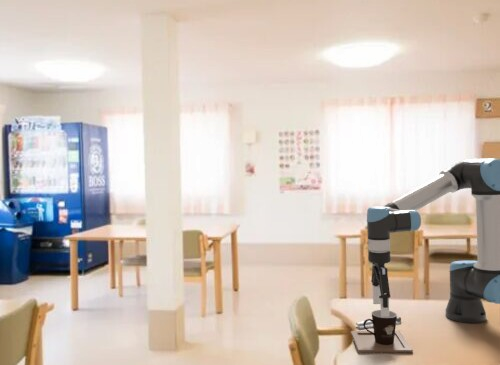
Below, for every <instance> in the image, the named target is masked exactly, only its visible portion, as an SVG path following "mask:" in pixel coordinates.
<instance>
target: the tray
mask: <svg viewBox="0 0 500 365" xmlns="http://www.w3.org/2000/svg"><path fill="white" fill-rule="evenodd" d="M370 331H371V332H373V333H374V330H370ZM350 335H351V338H352V340H353V342H354V345H355V348H356V350H357V353H358V354H390V355H391V354H396V355H397V354H399V355H401V354H407V355H408V354H413V353H414V350H413V348H412V347H411V345H410V344H409V342H408V340H406V337H404V334H402V331H401V330H395V336H394V343H393V344H391V345H381V344H378V343H376V342H375V336H374V335H373V334H371V333H370V332H368V331H367V330H350Z"/></svg>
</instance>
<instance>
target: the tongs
mask: <svg viewBox="0 0 500 365" xmlns="http://www.w3.org/2000/svg"><path fill="white" fill-rule="evenodd" d="M364 321H365V320H363V321H362V320H361V321H358V322H355V325H356V326H357V328H358V329H360V330H364V329H365V328H364V326H363V324H364ZM401 323H402V318H401V317H400V316H397V318H396V325H401ZM365 327H366V328H367V329H371V328H373V323H372V321H367V322H366V323H365ZM365 330H366V329H365Z"/></svg>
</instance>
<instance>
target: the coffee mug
mask: <svg viewBox="0 0 500 365" xmlns="http://www.w3.org/2000/svg"><path fill="white" fill-rule="evenodd" d="M397 317H398V314H397V313H396V312H394V311H391V310H389V316H388V317H381V309H380V310H378V309H377V310H373V311H372V312H371V318H367V319H365V320H363V321H364V324H363V326H364V328H365V331H368V332H370V333H371V334H373V335H374V336H375V342H376V343H378V344H381V345H391V344H393V343H394V336H395V331H396V325H397V324H396V318H397ZM367 321H372V323H373V327H372V328H373V331H374V333H373V332H371V331H372V330H370V329H369V328H366V327H365V323H366V322H367Z"/></svg>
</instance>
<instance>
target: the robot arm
mask: <svg viewBox="0 0 500 365" xmlns="http://www.w3.org/2000/svg"><path fill="white" fill-rule="evenodd" d="M463 189H471V190H470V191H471V196H472V197H473V198H474V199H475V206H476V207H475V211H476V212H475V214H476V215H475V216H476V246H477V247H476V250H477V253H476V254H477V260H457V261H456V260H455V261H452V262H451V263H450V264H449V265H450V266H449V271H448V272H449V299H448V302H447V305H446V307H445V316H446V317H447V318H448V319H449V320H451V321H455V322H459V323H460V322H461V323H466V324H467V323H470V324H478V323H483V322H486V320H487V311H486V309H485V307H484V303H483V301H482V300H484V301H486V302H487V303H492V304H495V305H500V158H493V157H492V158H491V157H490V158H488V157H486V158H468V159H463V160H461V161H459V162H457V163H455V164H453V165H451V166H449V167H447V168H445V169H444V170H442V171H440V172H439V175H437V176H435V177H434V178H433V179H431V180H429V181H426V182H425V183H423V184H422V185H419V186H418V187H416V188H414V189H413V190H410V191H408V193H407V192H406V193H405V194H404V195H402V196H400V197H398V198H396V199H395V200H393V201H391V202H388V203H387V204H385V205H383V206H382V205H381V206H380V205H378V206H371V207H368V208H367V211H366V212H367V213H366V223H367V226H366V227H367V228H366V229H367V241H366V242H365V243H366V245H367V249H368V250H369V251H368V252H367V256H368V262H369V263H371V264H372V265H371V266H372V267H371V281H370V282H371V284H372V304H373V305H380V310H381V317H388V316H389V311H390V298H391V291H390V285H389V284H390V283H389V276H388V274H389V273H388V272H389V271H388V268H387V267H386V265H385V264H388V263H390V262H391V251H390V250H391V237H390V235H391V234H394V233H403V232H405V233H406V232H414V231H417V230H419V229H420V227H421V225H422V218H421V215H420V213H419V211H418V210H420V209H421V208H423V207H426V206H427V205H429V204H431V203H432V202H434V201H437V200H438V199H440V198H441V197H443V196H445V195H447V194H449V193H456V192H458V191H460V190H463ZM390 233H391V234H390Z"/></svg>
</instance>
